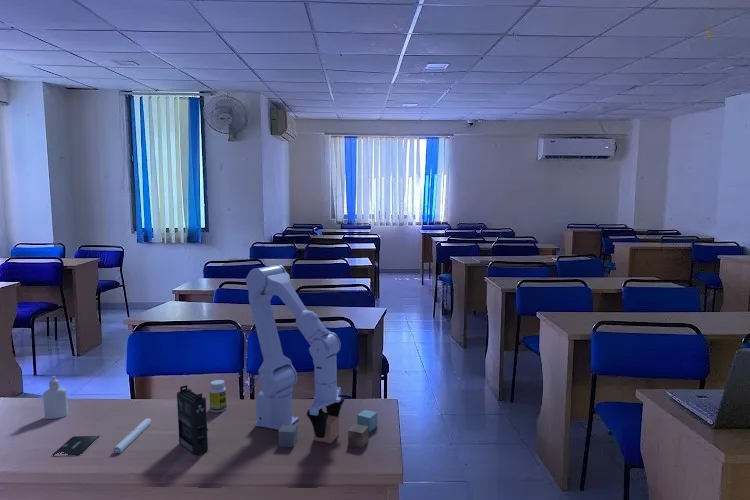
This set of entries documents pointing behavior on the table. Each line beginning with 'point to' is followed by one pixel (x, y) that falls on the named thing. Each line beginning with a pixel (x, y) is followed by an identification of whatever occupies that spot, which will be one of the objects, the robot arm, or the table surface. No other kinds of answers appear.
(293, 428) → the charcoal block
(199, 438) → the geiger counter
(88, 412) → the table surface
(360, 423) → the dull teal block
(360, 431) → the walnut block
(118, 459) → the table surface
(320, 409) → the robot arm
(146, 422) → the marker
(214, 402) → the supplement bottle
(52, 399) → the eye dropper bottle
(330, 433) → the terracotta block
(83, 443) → the solid state drive
